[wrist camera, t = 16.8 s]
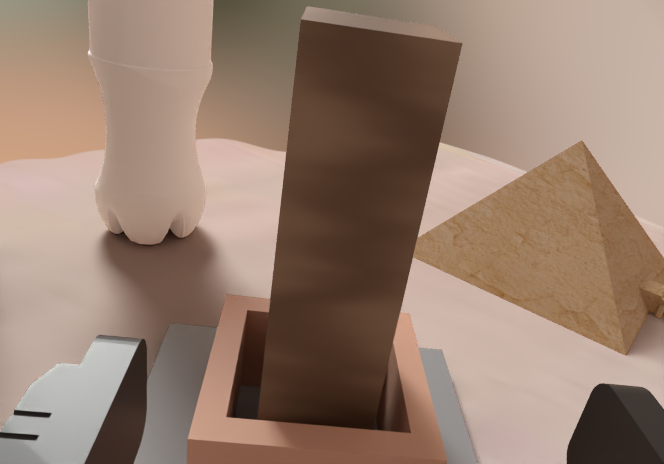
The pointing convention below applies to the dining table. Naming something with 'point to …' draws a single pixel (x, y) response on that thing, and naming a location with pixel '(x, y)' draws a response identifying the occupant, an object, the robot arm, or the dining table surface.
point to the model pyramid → (557, 250)
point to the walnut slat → (350, 210)
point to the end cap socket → (281, 437)
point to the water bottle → (151, 112)
